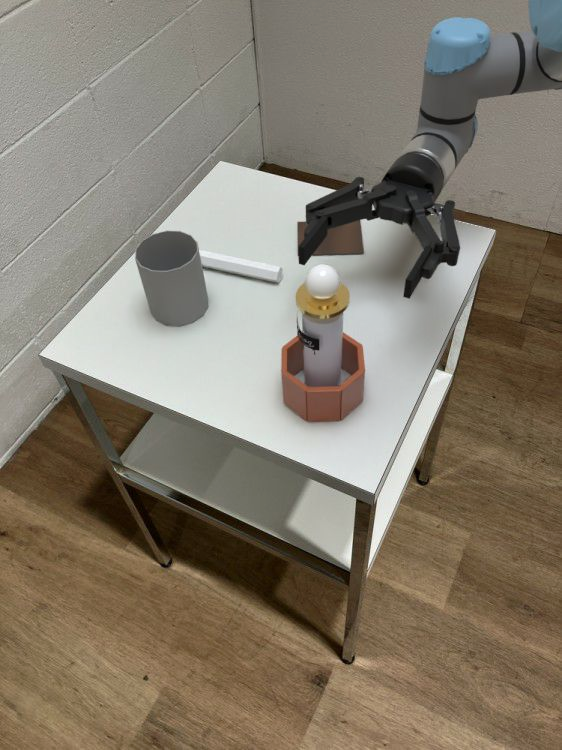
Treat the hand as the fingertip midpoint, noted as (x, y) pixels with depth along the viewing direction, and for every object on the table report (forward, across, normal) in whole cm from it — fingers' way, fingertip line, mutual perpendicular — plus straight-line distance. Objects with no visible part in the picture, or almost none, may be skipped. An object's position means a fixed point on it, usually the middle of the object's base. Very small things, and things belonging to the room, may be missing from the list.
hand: (352, 272), depth 75 cm
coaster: (-19, +12, -13) cm, 26 cm away
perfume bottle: (+8, 0, -13) cm, 15 cm away
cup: (+3, +25, -13) cm, 29 cm away
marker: (-6, +22, -13) cm, 27 cm away
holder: (+8, 0, -13) cm, 15 cm away
